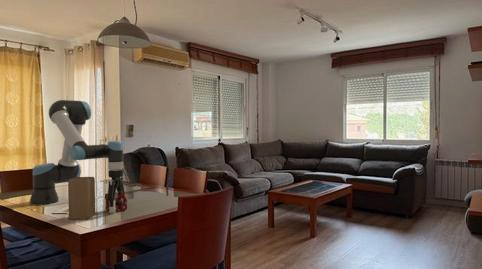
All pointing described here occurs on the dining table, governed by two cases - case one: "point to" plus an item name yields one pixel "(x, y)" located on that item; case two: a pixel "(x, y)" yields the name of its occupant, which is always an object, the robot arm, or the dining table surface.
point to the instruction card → (63, 210)
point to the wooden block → (81, 197)
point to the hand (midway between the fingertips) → (116, 209)
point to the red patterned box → (117, 202)
